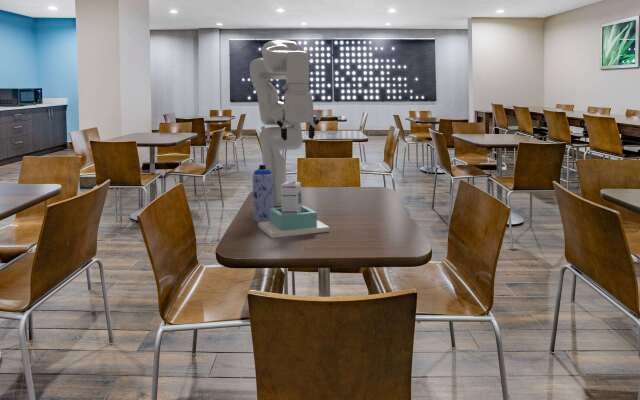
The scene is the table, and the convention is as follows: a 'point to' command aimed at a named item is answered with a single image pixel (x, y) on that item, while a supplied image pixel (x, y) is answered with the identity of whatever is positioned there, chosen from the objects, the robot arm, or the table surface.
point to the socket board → (292, 223)
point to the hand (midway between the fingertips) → (297, 139)
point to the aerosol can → (262, 193)
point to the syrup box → (291, 197)
